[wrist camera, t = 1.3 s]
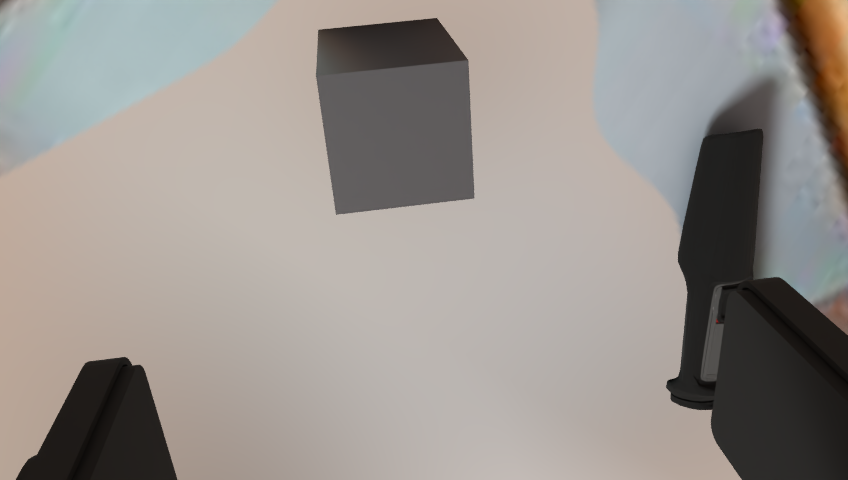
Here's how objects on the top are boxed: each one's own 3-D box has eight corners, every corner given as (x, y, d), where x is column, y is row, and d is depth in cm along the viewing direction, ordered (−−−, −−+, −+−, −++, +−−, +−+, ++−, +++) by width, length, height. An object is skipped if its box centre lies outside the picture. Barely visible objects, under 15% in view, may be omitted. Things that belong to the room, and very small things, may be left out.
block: (318, 29, 28) (316, 75, 22) (437, 18, 28) (468, 60, 22) (334, 143, 30) (336, 214, 24) (444, 130, 30) (474, 198, 24)
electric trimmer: (760, 104, 32) (802, 125, 29) (727, 383, 39) (758, 422, 36) (677, 115, 32) (711, 138, 29) (659, 394, 39) (685, 434, 36)
